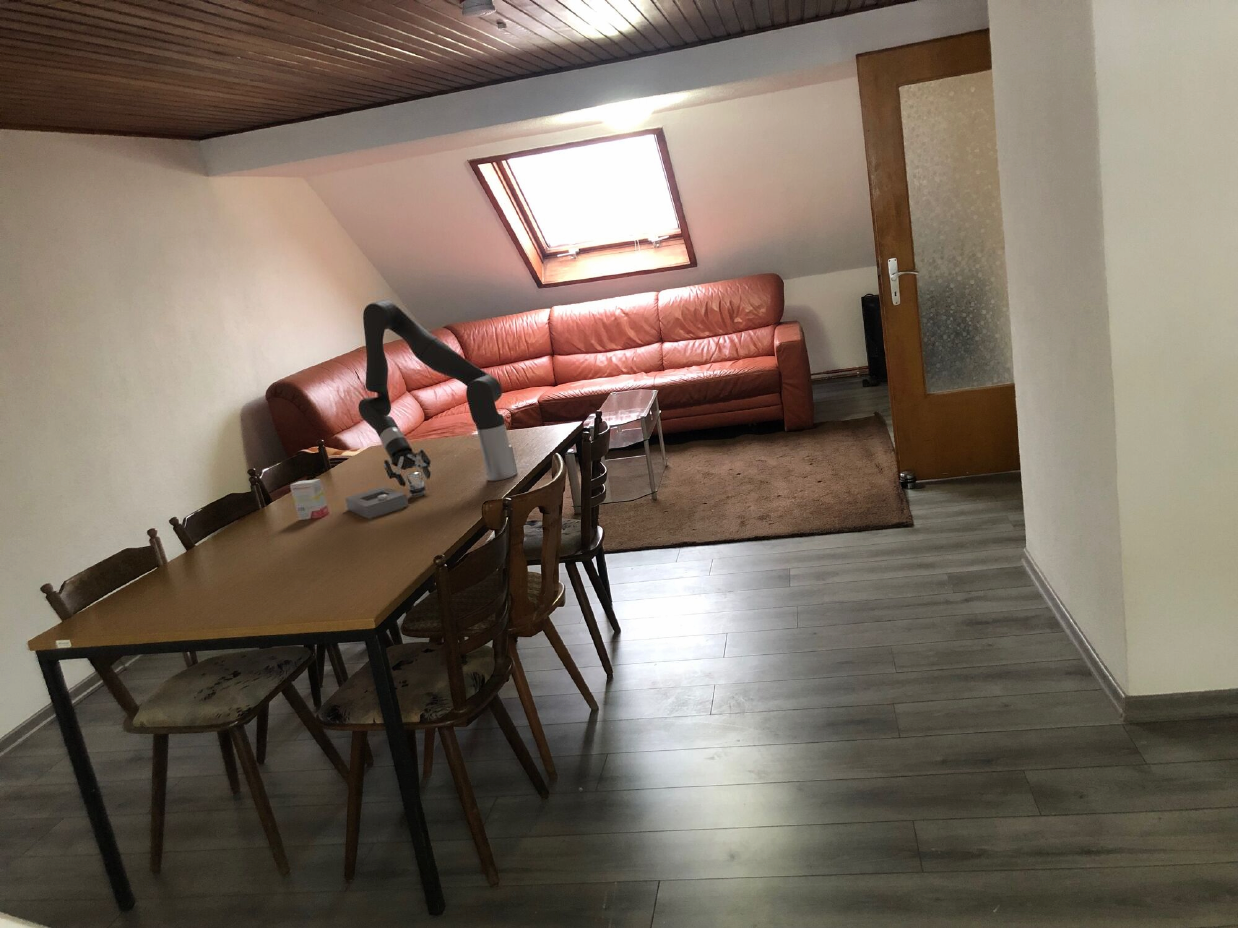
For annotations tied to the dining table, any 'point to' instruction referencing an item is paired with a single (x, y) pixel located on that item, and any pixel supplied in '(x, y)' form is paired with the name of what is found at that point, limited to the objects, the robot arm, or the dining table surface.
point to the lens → (416, 484)
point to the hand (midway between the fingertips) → (416, 481)
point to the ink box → (309, 499)
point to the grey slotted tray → (376, 502)
